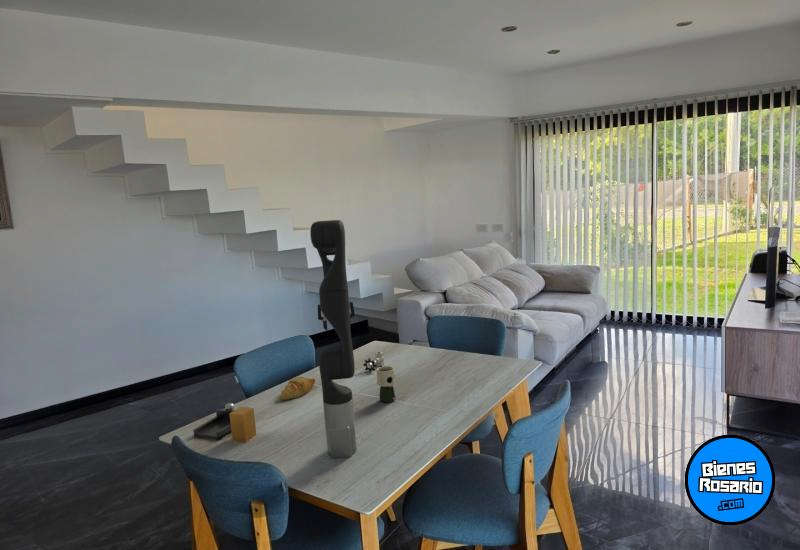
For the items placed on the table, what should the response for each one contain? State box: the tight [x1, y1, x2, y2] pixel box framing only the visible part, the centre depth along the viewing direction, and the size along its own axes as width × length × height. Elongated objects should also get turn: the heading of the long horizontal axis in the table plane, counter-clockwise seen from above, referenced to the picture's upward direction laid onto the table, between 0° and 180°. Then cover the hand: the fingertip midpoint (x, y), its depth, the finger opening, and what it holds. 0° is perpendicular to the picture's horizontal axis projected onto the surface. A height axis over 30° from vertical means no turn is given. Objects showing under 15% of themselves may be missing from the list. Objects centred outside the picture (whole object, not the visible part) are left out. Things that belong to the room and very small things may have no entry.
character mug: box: [376, 365, 396, 403], centre depth 214 cm, size 11×7×13 cm, turn 147°
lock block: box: [230, 406, 257, 444], centre depth 188 cm, size 6×6×10 cm
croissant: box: [278, 376, 316, 401], centre depth 229 cm, size 21×10×8 cm, turn 149°
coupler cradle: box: [193, 402, 235, 441], centre depth 197 cm, size 15×11×7 cm
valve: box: [362, 350, 385, 373], centre depth 256 cm, size 7×7×12 cm
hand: (337, 328), depth 215 cm, fingers open, 8 cm apart
